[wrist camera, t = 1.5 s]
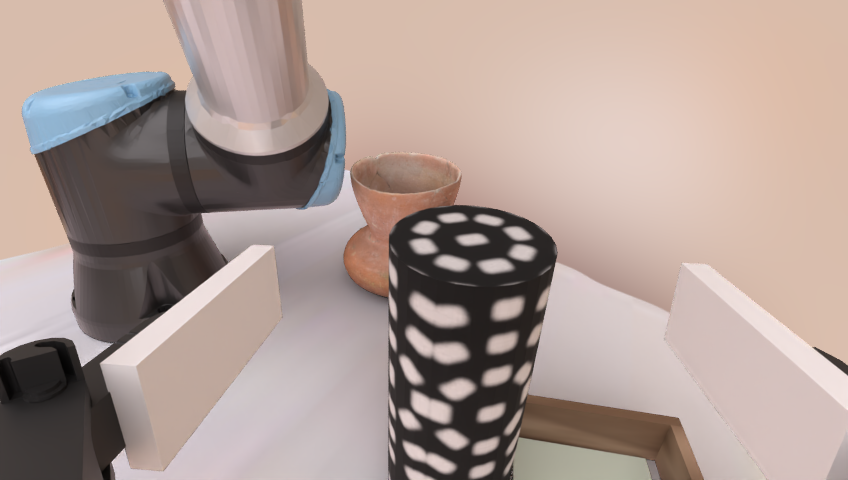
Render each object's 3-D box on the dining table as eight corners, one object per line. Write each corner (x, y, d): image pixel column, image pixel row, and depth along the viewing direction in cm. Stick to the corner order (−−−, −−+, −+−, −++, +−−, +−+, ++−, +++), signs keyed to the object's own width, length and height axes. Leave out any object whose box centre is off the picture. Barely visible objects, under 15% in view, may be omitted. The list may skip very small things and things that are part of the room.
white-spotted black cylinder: (475, 424, 36) (506, 199, 27) (527, 524, 30) (594, 270, 20) (376, 451, 34) (371, 213, 24) (408, 567, 27) (419, 301, 18)
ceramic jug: (316, 268, 56) (306, 161, 49) (401, 233, 65) (404, 138, 58) (413, 343, 45) (418, 219, 38) (500, 288, 54) (517, 179, 47)
